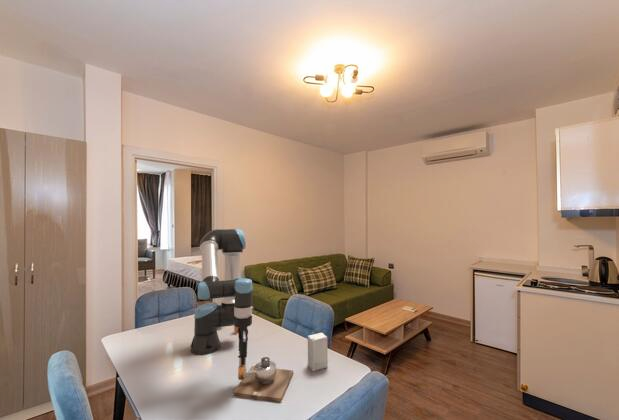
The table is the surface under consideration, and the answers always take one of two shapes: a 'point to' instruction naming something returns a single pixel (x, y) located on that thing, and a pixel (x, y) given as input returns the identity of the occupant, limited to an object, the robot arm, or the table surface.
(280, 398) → the brown wooden board
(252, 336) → the table surface
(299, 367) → the table surface
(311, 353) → the skincare box
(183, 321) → the table surface
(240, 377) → the silver round pot
